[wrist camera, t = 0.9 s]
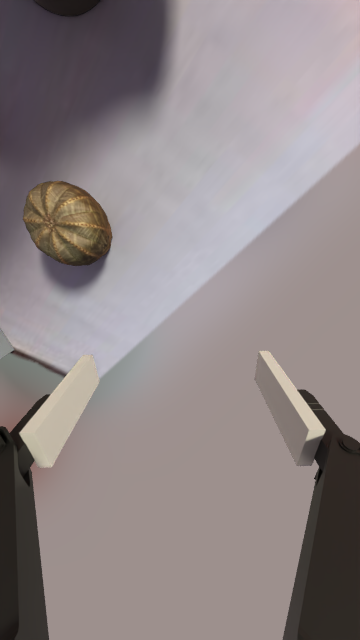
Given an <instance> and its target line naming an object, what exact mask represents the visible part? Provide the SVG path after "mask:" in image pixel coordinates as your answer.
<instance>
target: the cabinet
mask: <svg viewBox="0 0 360 640" xmlns="http://www.w3.org/2000/svg"><path fill="white" fill-rule="evenodd" d="M13 350H14V348H13V347H12V345H11V344H10V342H9V341H8V339H7V338H6V336H5V335H4V333H3V332H2V330H1V329H0V359H1V358H3V357H4V356H6V355H7V354H9V353H10V352H12V351H13Z"/></svg>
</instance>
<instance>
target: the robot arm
mask: <svg viewBox="0 0 360 640" xmlns="http://www.w3.org/2000/svg"><path fill="white" fill-rule="evenodd" d="M34 1H35V2H36V3H38V4H39V5H40V6H42V7H43V8H45V9H47V10H49V11H51V12H53V13H56V14H59V15H64V16H74V15H79V14H82V13H84V12H86V11H88V10H90V9H91V8H93V7H94V6H95V5H96V4H97V3H98V2H99V1H100V0H34ZM255 381H256V383H257V385H258V387H259V389H260V391H261V393H262V395H263V397H264V399H265V401H266V404H267V406H268V408H269V410H270V412H271V414H272V416H273V418H274V420H275V422H276V424H277V426H278V428H279V430H280V432H281V434H282V436H283V438H284V441H285V443H286V445H287V447H288V449H289V451H290V453H291V455H292V457H293V459H294V461H295V463H296V465H297V466H311V465H312V463H313V461H314V458H315V460H316V462H317V464H318V465H319V469H318V471H317V473H316V476H315V478H314V479H315V480H316V482H315V486H314V491H313V496H312V501H311V506H310V511H309V515H308V521H307V525H306V530H305V535H304V539H303V544H302V549H301V554H300V559H299V564H298V568H297V573H296V578H295V583H294V588H293V593H292V597H291V602H290V607H289V612H288V616H287V621H286V626H285V631H284V636H283V640H360V443H359V442H358V441H357V440H355V439H353V438H352V437H350V436H347V435H345V434H343V433H342V431H341V430H340V429H339V428H338V426H337V425H336V424H335V422H334V421H333V420H332V419H331V417H330V416H329V415H328V414H327V413H326V411H324V409H323V407H322V406H321V405H320V404H319V403H318V401H317V400H316V399H315V397H314V396H313V395H312V394H310V393H309V392H308V391H306V390H297V389H296V388H295V387H294V385H293V384H292V382H291V381H290V380H289V378H288V377H287V375H286V374H285V373H284V372H283V370H282V369H281V367H280V366H279V364H278V363H277V362H276V360H275V359H274V358H273V356H272V355H271V353H270V352H269V351H259V353H258V359H257V366H256V373H255ZM99 382H100V381H99V378H98V374H97V370H96V366H95V363H94V359H93V355H83V356H82V357H81V358H80V359H79V361H78V362H77V363H76V364H75V366H74V367H73V368H72V369H71V370H70V372H69V373H68V374H67V375H66V377H65V378H64V379H63V381H61V383H60V384H59V385H58V386H57V388H56V389H55V390H54V391H53V393H52V394H50V395H45V396H43V397H42V398H41V399H39V400H38V401H37V402H36V403H35V404H34V406H33V407H32V409H30V410H29V411H28V413H27V414H26V415H25V416H24V417H23V418H22V419H21V421H20V422H19V423H18V424H17V425H16V426H15V428H14V429H13V430H12V431H11V432H10V433H9V432H8V430H7V429H6V427H3V426H1V427H0V640H49V635H48V626H47V616H46V606H45V596H44V587H43V578H42V568H41V559H40V548H39V539H38V530H37V519H36V510H35V501H34V491H33V481H32V472H31V470H30V467H31V465H32V464H33V462H34V461H35V463H36V464H37V466H38V467H52V466H53V464H54V462H55V461H56V459H57V457H58V455H59V453H60V452H61V450H62V448H63V446H64V445H65V443H66V441H67V439H68V438H69V436H70V434H71V432H72V430H73V429H74V427H75V425H76V423H77V421H78V420H79V418H80V416H81V414H82V412H83V410H84V409H85V407H86V405H87V404H88V402H89V400H90V398H91V396H92V395H93V393H94V391H95V389H96V388H97V386H98V384H99Z"/></svg>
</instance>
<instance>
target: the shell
mask: <svg viewBox="0 0 360 640" xmlns="http://www.w3.org/2000/svg"><path fill="white" fill-rule="evenodd" d="M23 220H24V222H25V224H26V228H27V230H28V231H29V233H30V235H31V239H32V240H33V242H34V243H35V244H36V247H37V248H38V249H39V250H41V251H43V252H44V253H45V254H46V255H48V256H50V257H52V258H53V259H55V260H56V261H58V262H60V263H63V264H67V265H73V266H82V265H90V264H92V263H94V262H95V261H97V260H98V259H99V258H100V257H101V256H103V255H105V254H106V253H107V251H108V250H109V249H110V247H111V239H112V232H111V227H110V224H109V222H108V219H107V216H106V214H105V212H104V210H103V209H102V207H101V206H100V204H99V203H98V202H97V201H96V200H95V199H94V198H93V197H92V196H91V195H90V194H89V193H88V192H86V191H85V190H83V189H81V188H79V187H77V186H75V185H71V184H69V183H66V182H63V181H55V182H52V181H49V182H45V183H41V184H39V185H37V186H36V187H35V188H33V189H32V190H31V191H30V192H29V194H28V196H27V199H26V204H25V207H24V216H23Z"/></svg>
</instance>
